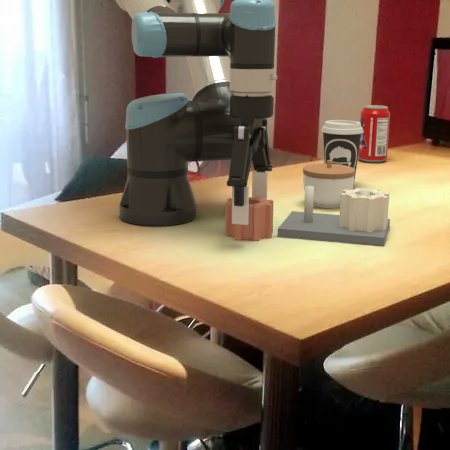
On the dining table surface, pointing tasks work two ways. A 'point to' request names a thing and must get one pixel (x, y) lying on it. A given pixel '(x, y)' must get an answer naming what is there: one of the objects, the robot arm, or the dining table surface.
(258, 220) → the gear
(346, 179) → the lidded jar
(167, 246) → the dining table surface
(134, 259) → the dining table surface
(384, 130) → the soda can
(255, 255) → the dining table surface
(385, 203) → the gear board
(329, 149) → the coffee cup
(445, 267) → the dining table surface
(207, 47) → the robot arm
